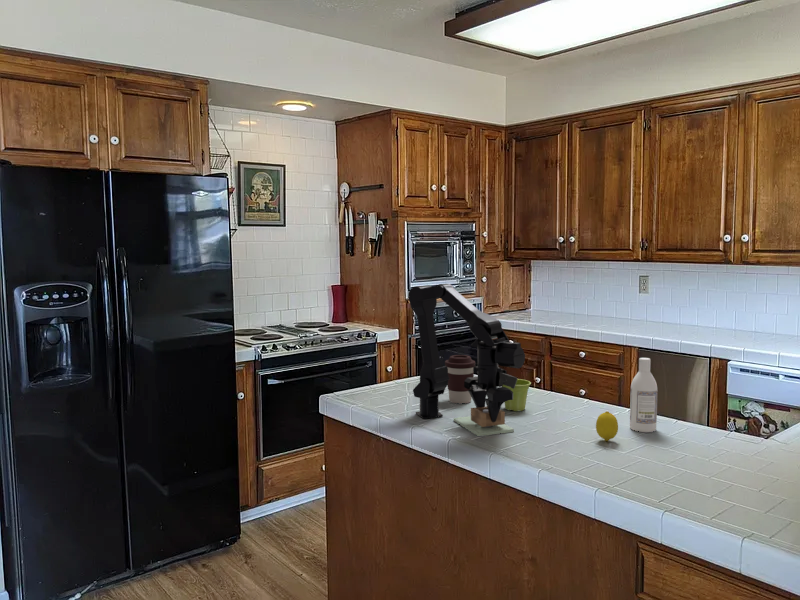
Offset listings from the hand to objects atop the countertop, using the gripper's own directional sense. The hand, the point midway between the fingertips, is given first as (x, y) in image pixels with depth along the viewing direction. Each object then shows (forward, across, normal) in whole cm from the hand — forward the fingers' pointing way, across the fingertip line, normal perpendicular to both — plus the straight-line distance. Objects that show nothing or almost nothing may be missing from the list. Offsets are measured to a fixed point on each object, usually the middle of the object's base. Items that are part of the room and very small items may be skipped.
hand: (487, 418), depth 179 cm
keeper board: (+3, +3, 0) cm, 4 cm away
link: (+1, 0, 0) cm, 1 cm away
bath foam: (+3, -16, -40) cm, 43 cm away
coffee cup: (+3, +31, -6) cm, 32 cm away
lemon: (+3, -21, -24) cm, 32 cm away
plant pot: (+3, +16, -18) cm, 24 cm away
